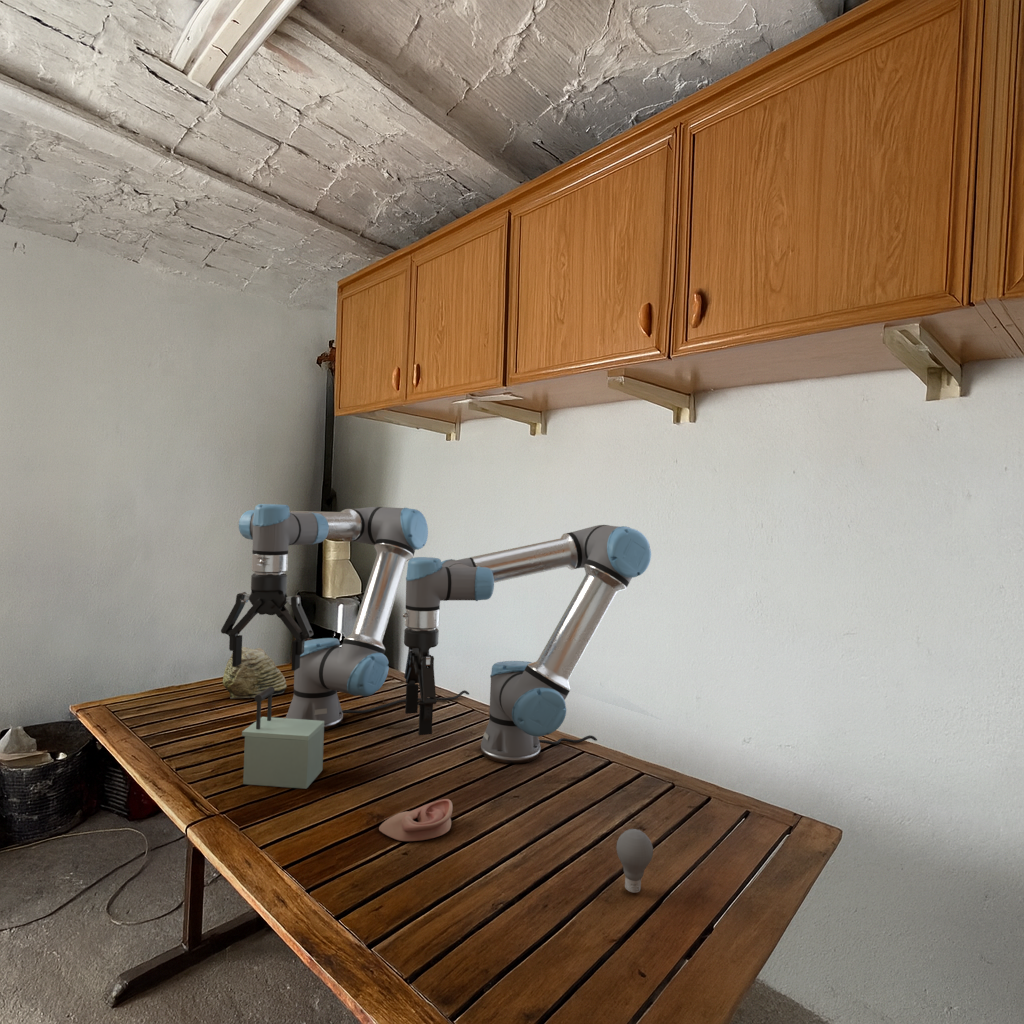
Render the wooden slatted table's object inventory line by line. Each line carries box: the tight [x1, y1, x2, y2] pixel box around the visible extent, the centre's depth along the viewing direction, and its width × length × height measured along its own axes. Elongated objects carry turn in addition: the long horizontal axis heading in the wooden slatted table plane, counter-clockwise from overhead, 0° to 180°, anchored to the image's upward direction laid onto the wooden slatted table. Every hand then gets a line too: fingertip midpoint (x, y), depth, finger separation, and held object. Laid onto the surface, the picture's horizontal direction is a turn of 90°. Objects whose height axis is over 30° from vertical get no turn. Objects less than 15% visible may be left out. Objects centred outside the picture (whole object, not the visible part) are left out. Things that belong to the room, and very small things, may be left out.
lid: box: [241, 687, 324, 741], centre depth 142 cm, size 15×10×9 cm, turn 86°
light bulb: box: [615, 828, 654, 894], centre depth 106 cm, size 6×6×10 cm
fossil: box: [222, 646, 288, 699], centre depth 198 cm, size 9×18×15 cm, turn 132°
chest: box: [242, 726, 325, 789], centre depth 142 cm, size 14×10×10 cm
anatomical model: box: [378, 798, 454, 842], centre depth 123 cm, size 13×4×12 cm
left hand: (266, 667), depth 142 cm, fingers open, 13 cm apart
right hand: (417, 723), depth 140 cm, fingers open, 13 cm apart
